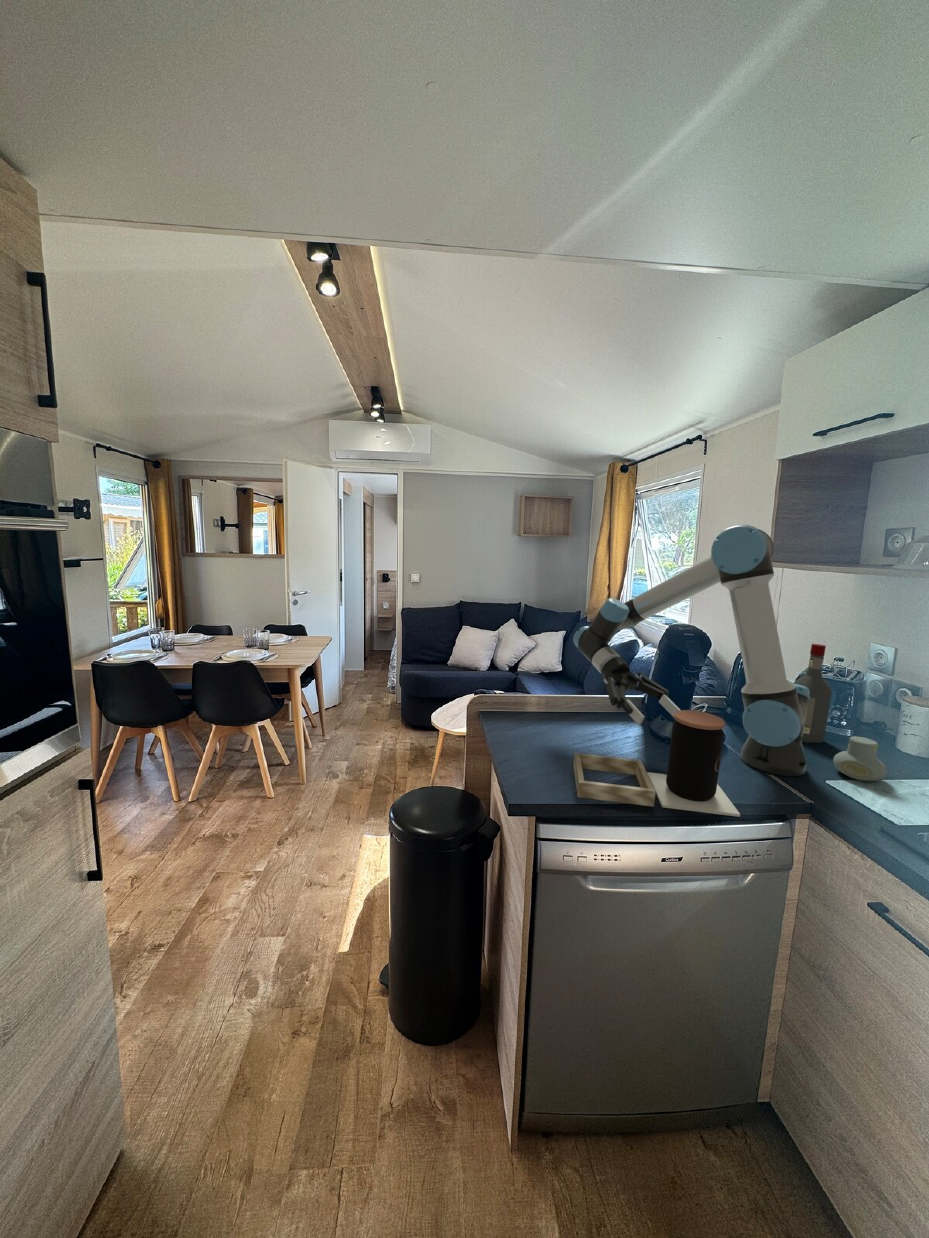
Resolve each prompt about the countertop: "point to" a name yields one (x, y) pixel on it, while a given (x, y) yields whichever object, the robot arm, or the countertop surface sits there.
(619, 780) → the countertop surface
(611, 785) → the birch corral
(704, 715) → the coffee jar
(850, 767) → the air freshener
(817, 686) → the liquor
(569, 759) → the countertop surface
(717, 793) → the cream mat
